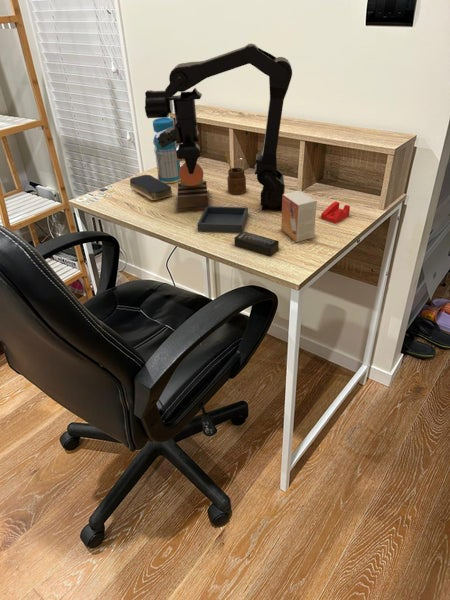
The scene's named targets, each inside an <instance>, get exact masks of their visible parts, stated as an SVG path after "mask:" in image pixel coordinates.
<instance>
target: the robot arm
mask: <svg viewBox="0 0 450 600" xmlns="http://www.w3.org/2000/svg"><path fill="white" fill-rule="evenodd" d="M246 65H251V66H253V67H254V68H256V69H257V70H258V71H260V72H261V73H262V74H264V75H266V76H267V77H268V84H269V87H268V88H269V101H268V109H267V116H266V124H265V125H266V126H265V133H264V141H263V148H262V151H261V153H256V155H255V156H256V158H255V159H256V161H255V162H256V163H255V165H254V175H256V180H257V182H258V183H259V184H260V185H262V189H261V190H260V206H261V210H262V211H273V212H278V211H279V212H282V196H283V194H286V193H285V190H286V185H285V178H284V174H283V173H282V172H281V171H280V170H279V169H278V162H277V161H278V160H277V152H278V151H277V150H278V143H279V138H280V137H279V136H280V129H281V122H282V116H283V107H284V101H285V98H286V96H287V93H288V90H289V88H290V84H291V80H292V78H293V69H292V68H293V67H292V65H291V63H290V61H289V59H287V58H286V57H284V56H277V57H276V56H275V55H273V54H271V53H270V52H267V51H266V50H264V49H262V48H260V47H258V45H256V44H254V43H248V44H246V45H244V46H242V47H239V48H236V49H234V50H231V51H228V52H225V53H222V54H220V55H216V56H214V57H210V58H208V59H205V60H201V61H190V62H189V61H188V62H181V63H178V64H177V65H175V66H174V68H173V69H171V71H170V73H169V75H168V77H169V78H168V80H169V84H168V85H167V86H166V88H165V89H164V90H151V89H150V90H146V91H145V92H144V94H145V98H144V112H145V116H146V118H147V119H158V118H170V115H171V114H173V113H174V126H172V127H169V128H167V129H165V130H163V131H161V132H159V133H158V134H157V136H156V138H157V140H158V144H160V146H161V148H164V147H166V146H167V145H169V144H171V143H173V142H175V141H176V144H177V145H178V147H177V149H176V153H177V159H179V160H183V159H184V163H186V165H187V168H188V171H189V174H193V173H194V169H195V166H196V163H198V160H199V158H201V149H200V143H197V142H199V141H200V131H199V130H198V117H197V110H196V109H197V107H196V100H200V99H201V98H202V96H203V94H202V93H201V92H200V91H199V90H198V89H197V88H196V87H195V86H196V85H198V84H200V83H201V82H202V81H204V80H206V79H209V78H211V77H214V76H217V75H220V74H222V73H225V72H228V71H231V70H235V69H237V68H240V67H243V66H246ZM193 87H194V88H193ZM191 88H193V89H192V91H188V90H189V89H191ZM179 92H180V94H179V95H176V94H177V93H179Z"/></svg>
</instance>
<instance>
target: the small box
mask: <svg viewBox="0 0 450 600" xmlns="http://www.w3.org/2000/svg"><path fill="white" fill-rule="evenodd" d="M317 203H318V201H317V200H316V199H314V198H313V197H312V196H310V195H308V194H306V193H305V192H303V191H302V190H295V191H291V192H286V193H285V194H283V196H282V211H281V222H280V223H281V224H280V226H281V227H280V229H281V231H282V232H283V233H284V234H286V235H287V236H288V237H290V238H291V239H292V240H293V241H294V242H295V243H299V242H302V241H306V240H310V239H313V238H314V237H315V231H316V230H315V229H316V218H317V217H316V216H317V205H318V204H317Z"/></svg>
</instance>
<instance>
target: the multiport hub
mask: <svg viewBox="0 0 450 600" xmlns="http://www.w3.org/2000/svg"><path fill="white" fill-rule="evenodd" d="M233 239H234V240H233V241H234V246H235V247H237V248H240V249H244V250H247V251H251V252H254V253H257V254H260V255H264V256H267V257H271V256H273V255H274V254H275V253H276V252H277V251H279V246H280V245H279V243H280V241H279V240H278V239H277V240H276V239H273V238H269V237H266V236H262V235H258V234H254V233H251V232H247V231H244V230H243V232H241V233H238V234H237V235H235V236H234V238H233Z"/></svg>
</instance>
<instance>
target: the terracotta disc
mask: <svg viewBox="0 0 450 600" xmlns="http://www.w3.org/2000/svg"><path fill="white" fill-rule="evenodd" d="M179 177H180V179H181V180H180V182H181V181H182V182H183V183H184V184H186V185H188V186H195V185H197V184H199V183H200V182H201V181H202V179H203V180H204V168H203V167H202V165H200V163H198V162H197V163H196V166H195V169H194V173H193V174H189V171H188V168H187V165H186V162H184V163H182V164H181V165H180V170H179Z"/></svg>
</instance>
